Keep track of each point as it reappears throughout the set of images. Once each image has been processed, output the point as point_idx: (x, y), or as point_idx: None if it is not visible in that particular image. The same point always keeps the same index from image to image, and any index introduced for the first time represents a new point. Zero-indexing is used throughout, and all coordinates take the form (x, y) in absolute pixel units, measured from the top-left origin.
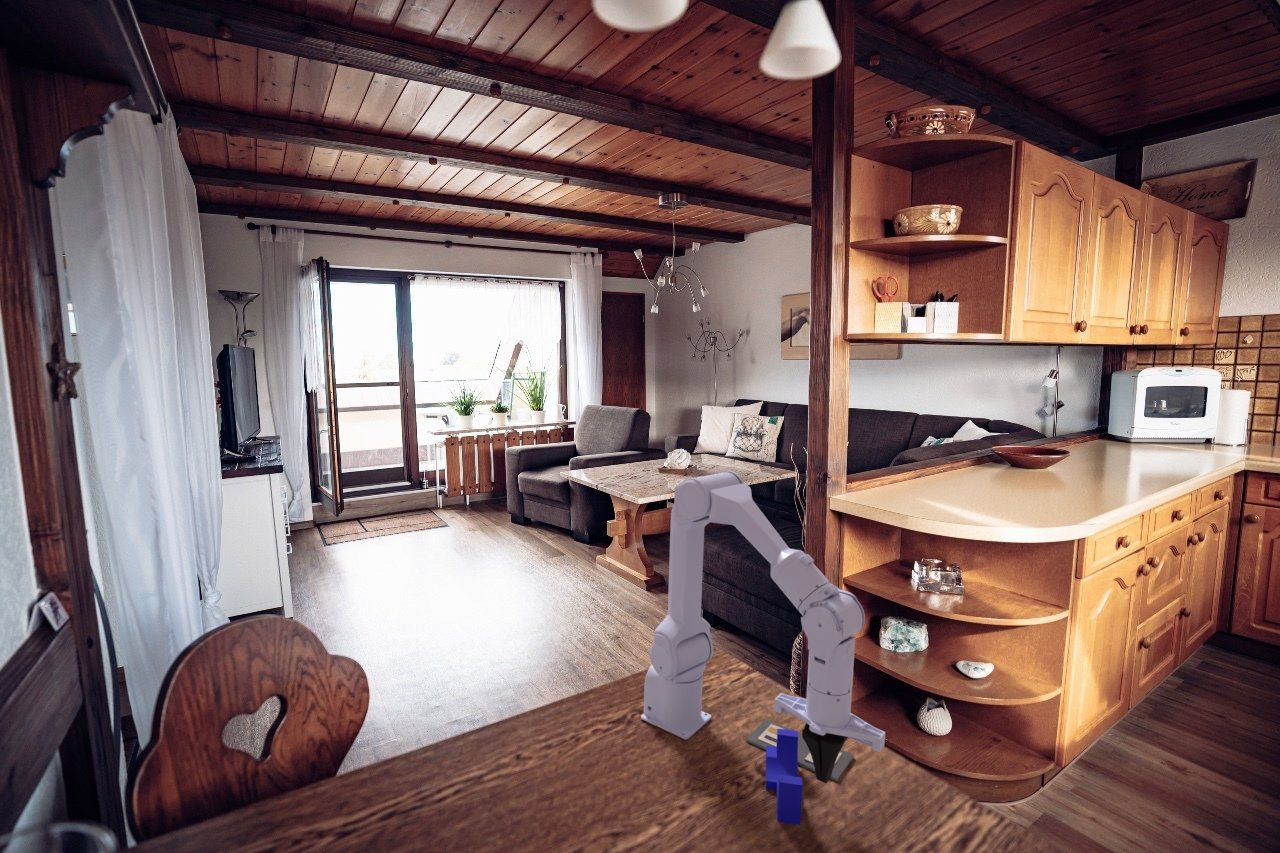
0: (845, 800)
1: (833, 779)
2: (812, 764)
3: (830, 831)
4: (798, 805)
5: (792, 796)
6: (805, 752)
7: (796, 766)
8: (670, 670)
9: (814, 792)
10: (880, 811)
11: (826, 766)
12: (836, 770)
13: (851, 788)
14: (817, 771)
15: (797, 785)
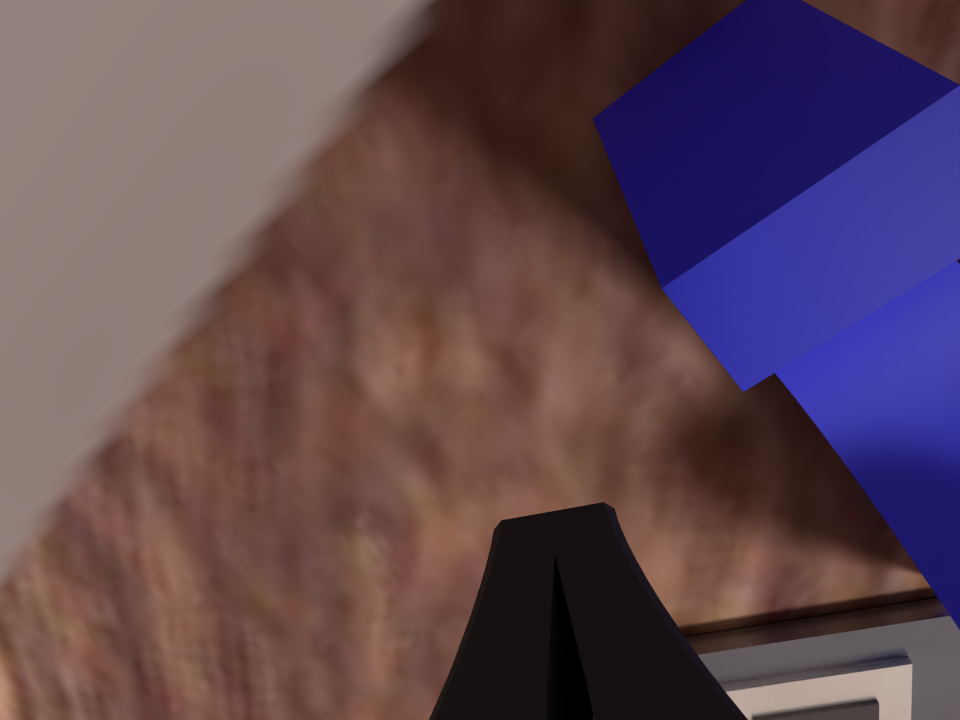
0: None
1: None
2: (842, 659)
3: (386, 253)
4: (642, 161)
5: (725, 148)
6: (938, 709)
7: (923, 559)
8: None
9: (700, 477)
10: (297, 630)
11: (474, 696)
12: None
13: None
14: (602, 571)
15: (717, 243)
